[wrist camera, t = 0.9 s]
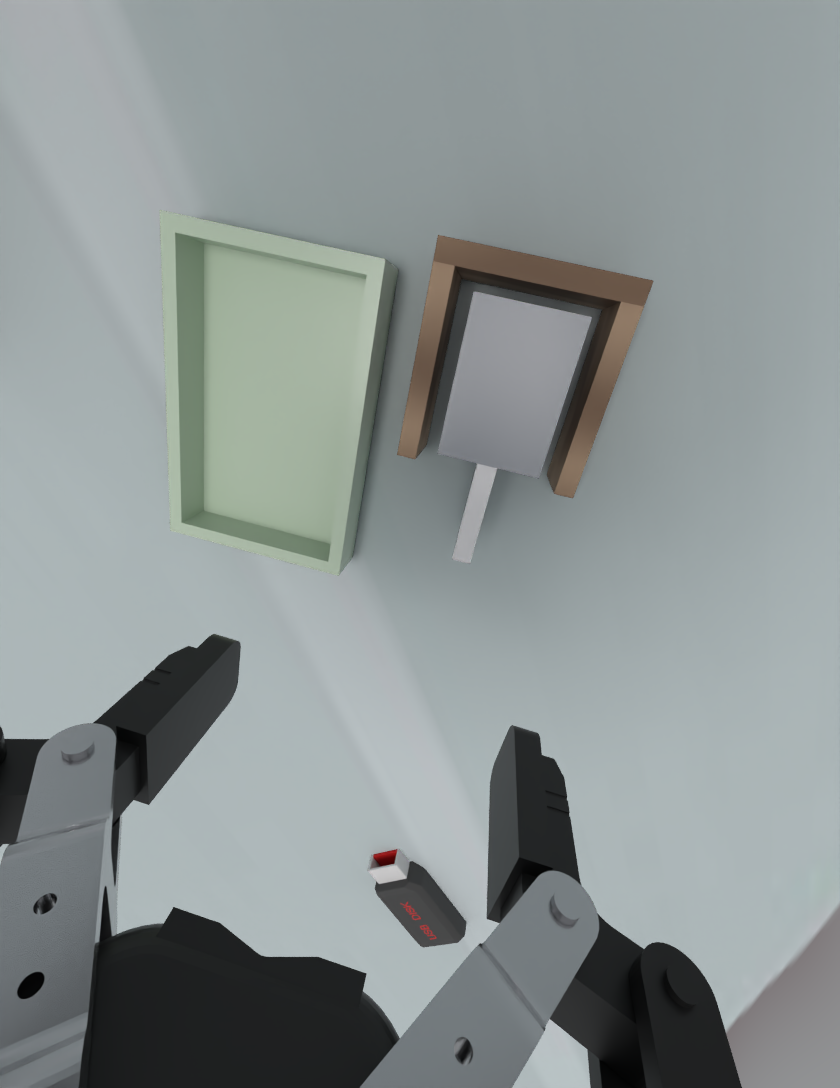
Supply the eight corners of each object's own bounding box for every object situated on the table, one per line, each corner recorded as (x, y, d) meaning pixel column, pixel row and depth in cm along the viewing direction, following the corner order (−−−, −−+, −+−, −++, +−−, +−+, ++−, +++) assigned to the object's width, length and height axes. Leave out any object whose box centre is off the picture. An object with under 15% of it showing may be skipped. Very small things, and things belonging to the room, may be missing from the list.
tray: (197, 225, 25) (159, 210, 22) (398, 269, 24) (385, 258, 21) (198, 515, 32) (170, 530, 29) (352, 556, 31) (338, 575, 29)
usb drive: (423, 923, 48) (419, 955, 46) (364, 851, 45) (356, 881, 42) (466, 917, 46) (465, 949, 44) (408, 841, 43) (403, 871, 41)
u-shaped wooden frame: (447, 253, 23) (437, 234, 20) (629, 292, 23) (653, 280, 19) (410, 441, 28) (397, 454, 24) (563, 478, 27) (573, 498, 23)
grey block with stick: (480, 305, 24) (473, 291, 19) (571, 325, 24) (592, 317, 18) (430, 516, 29) (414, 553, 24) (505, 535, 29) (506, 577, 24)
